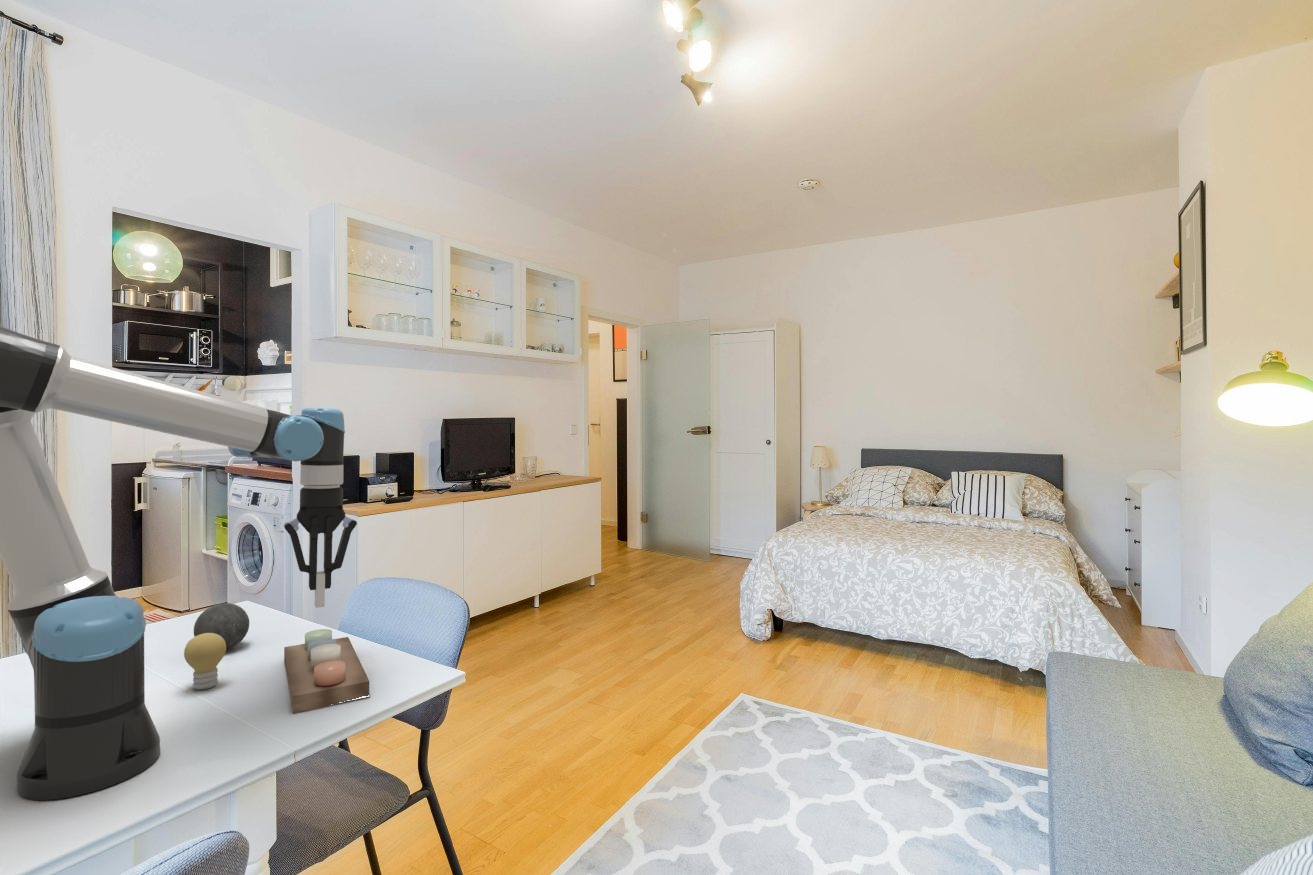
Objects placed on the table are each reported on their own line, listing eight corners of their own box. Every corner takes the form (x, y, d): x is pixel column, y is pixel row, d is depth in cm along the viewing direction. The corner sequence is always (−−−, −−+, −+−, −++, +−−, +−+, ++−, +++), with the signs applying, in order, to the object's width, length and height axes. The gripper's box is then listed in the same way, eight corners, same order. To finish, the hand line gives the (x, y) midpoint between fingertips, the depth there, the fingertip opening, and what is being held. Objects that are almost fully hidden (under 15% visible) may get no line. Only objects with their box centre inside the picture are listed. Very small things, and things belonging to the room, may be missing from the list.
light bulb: (177, 689, 117) (176, 635, 117) (214, 677, 123) (214, 626, 122) (196, 696, 114) (195, 641, 114) (233, 684, 120) (233, 631, 119)
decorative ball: (199, 645, 140) (199, 600, 140) (252, 639, 144) (252, 595, 144) (188, 660, 131) (188, 612, 131) (245, 653, 135) (245, 607, 135)
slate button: (308, 662, 122) (308, 648, 122) (306, 654, 126) (306, 641, 126) (337, 657, 125) (337, 644, 125) (334, 649, 129) (334, 636, 129)
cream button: (312, 668, 116) (311, 654, 116) (309, 660, 120) (309, 646, 120) (342, 663, 119) (342, 649, 119) (338, 655, 123) (338, 641, 123)
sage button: (305, 651, 128) (305, 638, 128) (303, 643, 132) (303, 631, 132) (333, 646, 131) (333, 634, 131) (330, 639, 135) (330, 627, 135)
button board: (292, 713, 108) (292, 695, 108) (284, 661, 131) (284, 646, 131) (369, 697, 114) (369, 680, 114) (348, 650, 138) (348, 636, 138)
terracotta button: (315, 687, 110) (315, 673, 110) (312, 678, 115) (312, 663, 115) (347, 681, 113) (347, 667, 113) (343, 672, 117) (343, 658, 117)
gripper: (355, 484, 132) (353, 597, 132) (282, 485, 125) (280, 605, 125) (360, 486, 125) (358, 605, 125) (284, 488, 118) (282, 614, 118)
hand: (319, 605), depth 125 cm, fingers closed
